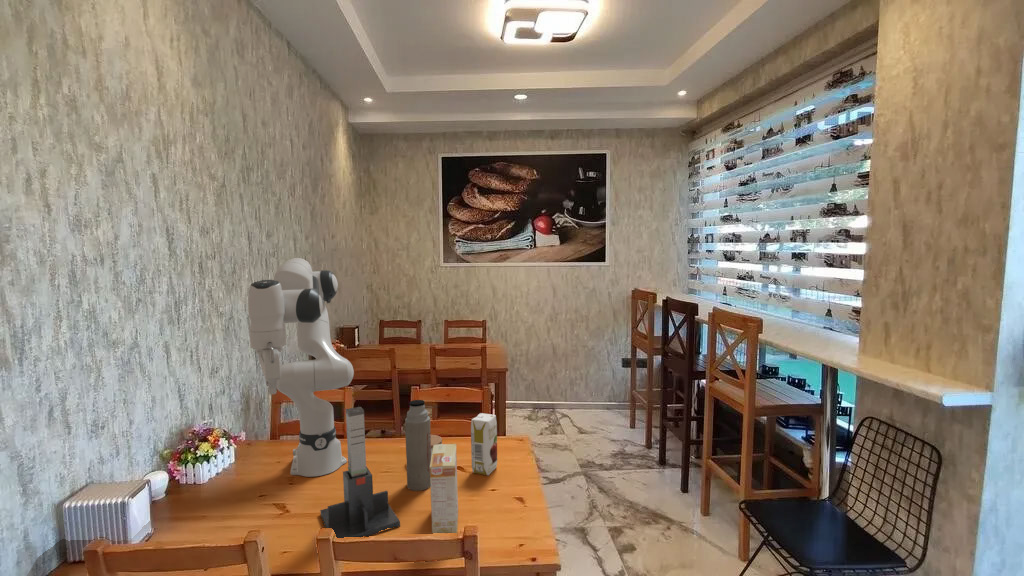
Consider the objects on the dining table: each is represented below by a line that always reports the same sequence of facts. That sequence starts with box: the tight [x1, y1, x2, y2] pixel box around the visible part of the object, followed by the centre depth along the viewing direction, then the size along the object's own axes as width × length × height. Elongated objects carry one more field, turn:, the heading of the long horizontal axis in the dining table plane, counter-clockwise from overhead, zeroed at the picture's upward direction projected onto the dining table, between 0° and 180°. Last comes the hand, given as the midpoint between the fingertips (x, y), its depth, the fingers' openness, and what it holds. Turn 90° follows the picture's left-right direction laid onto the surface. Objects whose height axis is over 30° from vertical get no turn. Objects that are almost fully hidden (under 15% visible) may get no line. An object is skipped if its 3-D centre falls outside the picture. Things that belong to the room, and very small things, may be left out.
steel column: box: [345, 406, 368, 479], centre depth 138 cm, size 4×4×24 cm
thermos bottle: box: [404, 399, 432, 492], centre depth 159 cm, size 8×8×28 cm
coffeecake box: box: [430, 443, 459, 534], centre depth 138 cm, size 15×7×20 cm, turn 5°
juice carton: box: [470, 412, 498, 476], centre depth 169 cm, size 8×9×19 cm
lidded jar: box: [431, 434, 443, 456], centre depth 178 cm, size 11×11×9 cm
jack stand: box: [319, 465, 401, 538], centre depth 139 cm, size 18×18×14 cm
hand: (271, 389), depth 135 cm, fingers open, 8 cm apart
